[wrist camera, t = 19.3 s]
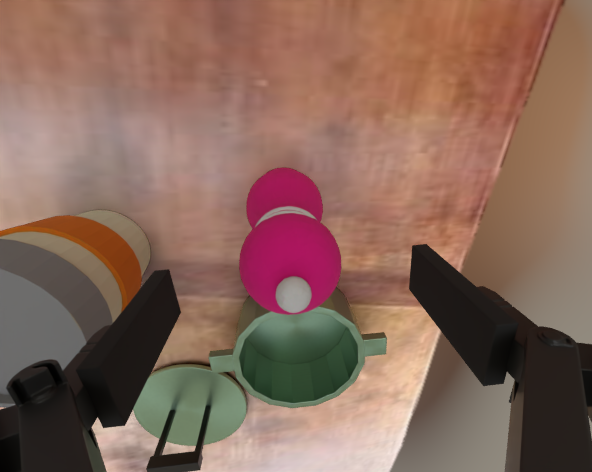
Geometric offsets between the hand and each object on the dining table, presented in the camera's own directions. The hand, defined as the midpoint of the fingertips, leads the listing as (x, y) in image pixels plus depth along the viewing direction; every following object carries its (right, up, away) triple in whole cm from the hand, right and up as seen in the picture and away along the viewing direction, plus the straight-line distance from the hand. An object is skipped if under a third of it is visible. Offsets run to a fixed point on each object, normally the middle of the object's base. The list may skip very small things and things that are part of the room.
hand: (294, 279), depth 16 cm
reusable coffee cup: (-21, +1, +17) cm, 27 cm away
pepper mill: (-1, +7, +16) cm, 18 cm away
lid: (-15, -22, +26) cm, 37 cm away
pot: (0, -9, +23) cm, 24 cm away
